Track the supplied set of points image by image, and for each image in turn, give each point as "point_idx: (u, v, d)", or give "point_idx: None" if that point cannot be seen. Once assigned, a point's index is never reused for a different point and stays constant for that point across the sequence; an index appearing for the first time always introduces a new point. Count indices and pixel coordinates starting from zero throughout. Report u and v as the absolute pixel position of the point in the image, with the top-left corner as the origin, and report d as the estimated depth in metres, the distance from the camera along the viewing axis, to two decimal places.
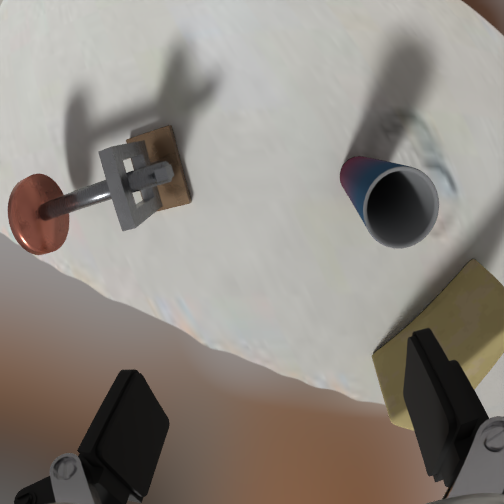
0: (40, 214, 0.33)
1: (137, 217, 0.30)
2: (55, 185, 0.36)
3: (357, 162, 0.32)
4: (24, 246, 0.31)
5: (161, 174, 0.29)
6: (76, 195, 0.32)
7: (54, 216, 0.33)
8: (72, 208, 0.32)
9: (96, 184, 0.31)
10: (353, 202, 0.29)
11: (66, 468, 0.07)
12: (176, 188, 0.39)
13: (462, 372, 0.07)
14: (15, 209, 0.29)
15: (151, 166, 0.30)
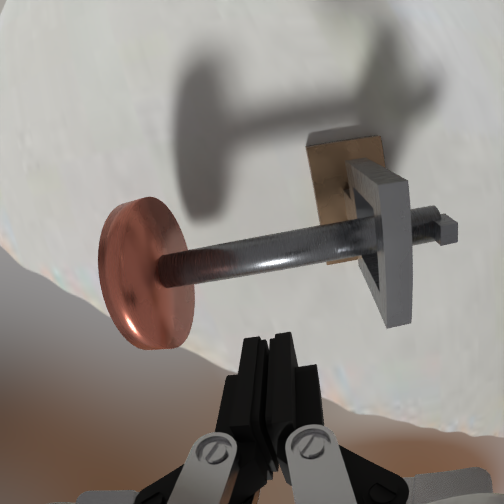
0: (162, 278, 0.20)
1: None
2: (170, 216, 0.23)
3: None
4: (140, 345, 0.18)
5: (450, 234, 0.16)
6: (260, 252, 0.19)
7: (195, 283, 0.20)
8: (246, 273, 0.19)
9: (307, 233, 0.18)
10: None
11: (212, 451, 0.07)
12: None
13: (317, 376, 0.09)
14: (124, 281, 0.16)
15: (419, 213, 0.17)
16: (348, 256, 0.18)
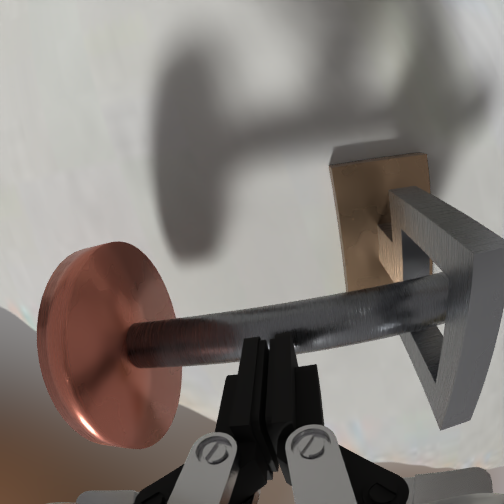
0: (133, 358, 0.13)
1: None
2: (146, 262, 0.17)
3: None
4: None
5: None
6: (272, 333, 0.12)
7: (179, 366, 0.14)
8: None
9: (342, 306, 0.12)
10: None
11: (212, 451, 0.07)
12: None
13: (317, 376, 0.09)
14: (71, 382, 0.09)
15: None
16: (396, 334, 0.12)
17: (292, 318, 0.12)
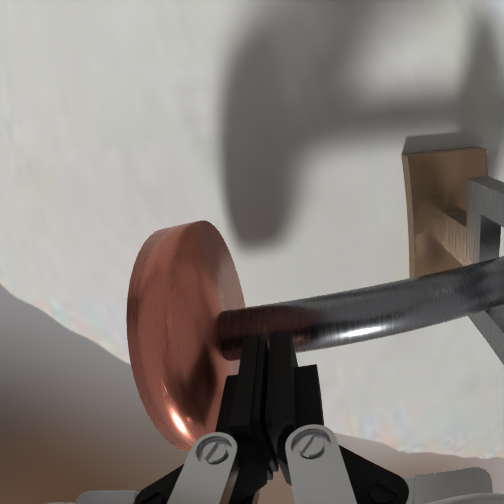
0: (226, 350, 0.13)
1: None
2: (224, 246, 0.16)
3: None
4: None
5: None
6: (383, 312, 0.12)
7: None
8: (356, 341, 0.12)
9: (443, 283, 0.11)
10: None
11: (211, 450, 0.07)
12: None
13: None
14: (181, 380, 0.09)
15: None
16: (483, 310, 0.11)
17: (401, 296, 0.12)
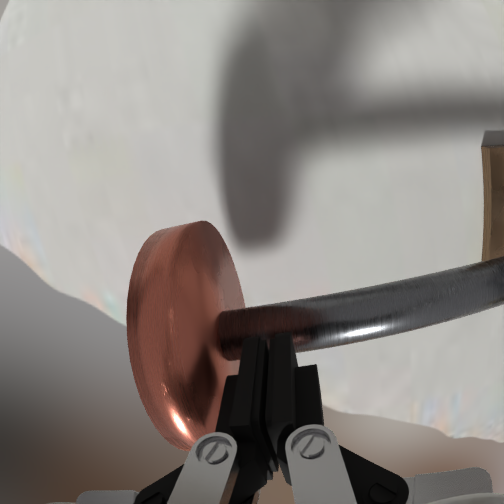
0: (226, 350, 0.13)
1: None
2: (224, 247, 0.16)
3: None
4: None
5: None
6: (383, 311, 0.12)
7: None
8: (356, 341, 0.12)
9: (443, 283, 0.11)
10: None
11: (212, 450, 0.07)
12: None
13: (317, 376, 0.09)
14: (181, 380, 0.09)
15: None
16: (483, 310, 0.11)
17: (401, 296, 0.12)
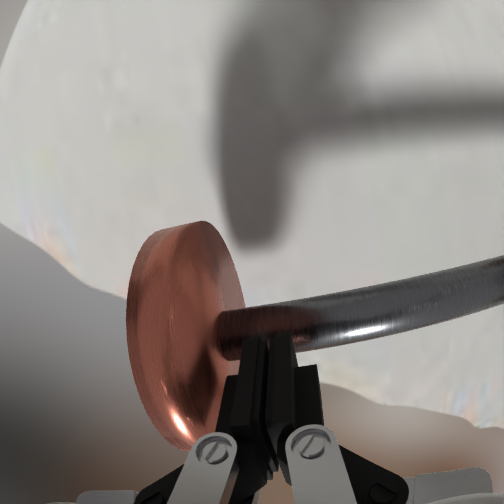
0: (226, 350, 0.13)
1: None
2: (223, 247, 0.16)
3: None
4: None
5: None
6: (383, 311, 0.12)
7: None
8: (356, 341, 0.12)
9: (443, 283, 0.11)
10: None
11: (212, 451, 0.07)
12: None
13: None
14: (181, 381, 0.09)
15: None
16: (483, 309, 0.11)
17: (401, 296, 0.12)
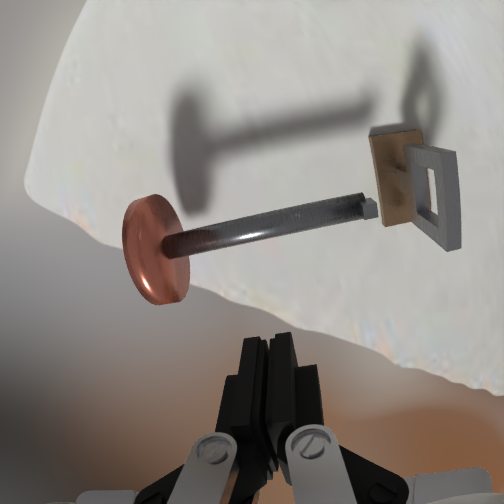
0: (166, 250, 0.28)
1: None
2: (171, 209, 0.32)
3: None
4: (149, 297, 0.26)
5: (371, 211, 0.24)
6: (233, 229, 0.27)
7: (189, 254, 0.28)
8: (224, 245, 0.28)
9: (266, 215, 0.27)
10: None
11: (211, 450, 0.07)
12: None
13: None
14: (140, 247, 0.24)
15: (348, 198, 0.26)
16: (296, 230, 0.27)
17: (243, 222, 0.27)
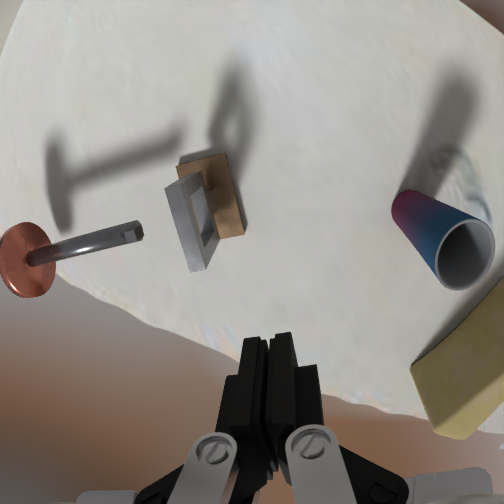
0: (27, 261, 0.34)
1: (205, 257, 0.30)
2: (40, 230, 0.38)
3: (414, 200, 0.32)
4: (15, 292, 0.33)
5: (131, 236, 0.31)
6: (57, 248, 0.33)
7: (40, 264, 0.35)
8: (55, 259, 0.34)
9: (75, 239, 0.33)
10: (416, 243, 0.29)
11: (212, 450, 0.07)
12: (230, 219, 0.39)
13: (317, 376, 0.09)
14: (4, 260, 0.31)
15: (122, 226, 0.32)
16: (92, 250, 0.33)
17: (63, 243, 0.33)
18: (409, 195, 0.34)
